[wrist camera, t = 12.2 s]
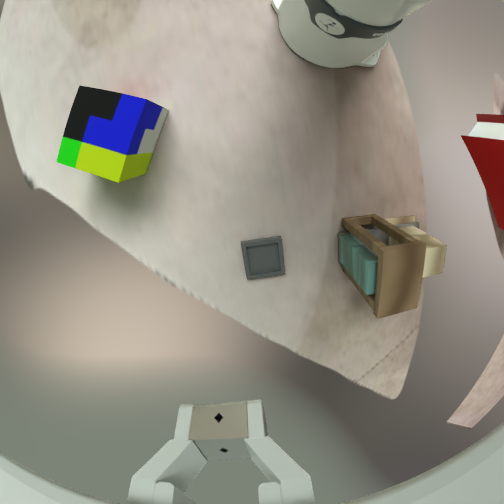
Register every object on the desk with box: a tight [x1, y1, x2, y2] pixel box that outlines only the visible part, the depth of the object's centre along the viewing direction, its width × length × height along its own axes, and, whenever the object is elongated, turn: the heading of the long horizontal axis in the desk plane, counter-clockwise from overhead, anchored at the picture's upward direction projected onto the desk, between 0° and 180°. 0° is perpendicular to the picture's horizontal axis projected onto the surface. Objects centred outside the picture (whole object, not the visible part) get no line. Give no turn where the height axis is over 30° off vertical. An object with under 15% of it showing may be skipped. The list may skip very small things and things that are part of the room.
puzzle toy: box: [57, 86, 169, 183], centre depth 30 cm, size 10×10×10 cm
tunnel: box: [342, 214, 427, 319], centre depth 36 cm, size 6×9×14 cm
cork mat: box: [384, 215, 416, 225], centre depth 42 cm, size 7×7×1 cm
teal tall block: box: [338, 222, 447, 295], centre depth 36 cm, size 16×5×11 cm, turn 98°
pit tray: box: [241, 236, 285, 279], centre depth 42 cm, size 6×6×1 cm
